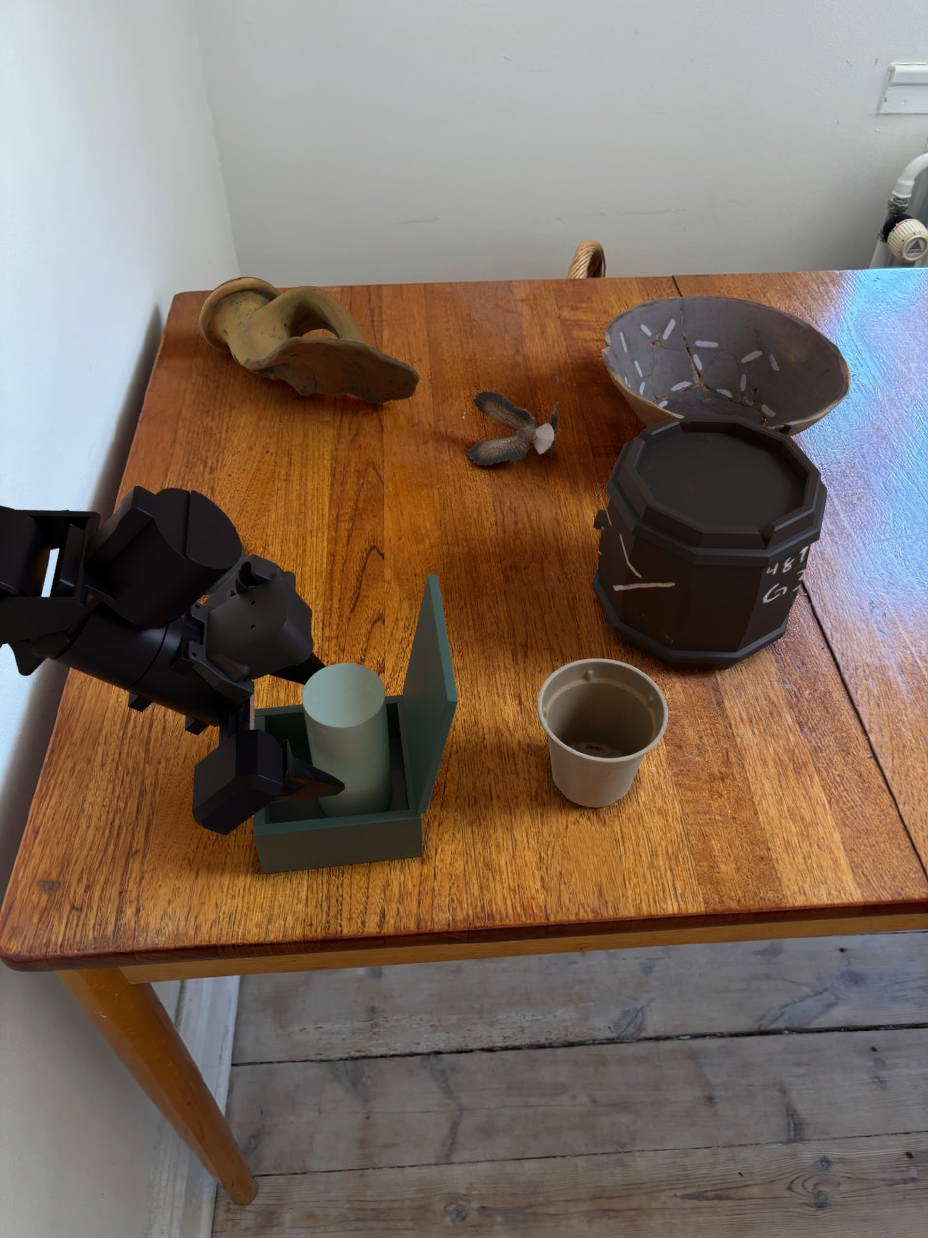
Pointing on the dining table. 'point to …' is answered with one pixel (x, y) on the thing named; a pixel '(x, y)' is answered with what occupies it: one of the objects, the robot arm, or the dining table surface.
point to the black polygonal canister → (706, 539)
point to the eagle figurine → (519, 422)
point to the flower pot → (599, 727)
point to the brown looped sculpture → (301, 341)
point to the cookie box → (316, 840)
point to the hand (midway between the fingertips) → (337, 735)
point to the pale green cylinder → (350, 737)
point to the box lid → (429, 694)
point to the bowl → (724, 362)
